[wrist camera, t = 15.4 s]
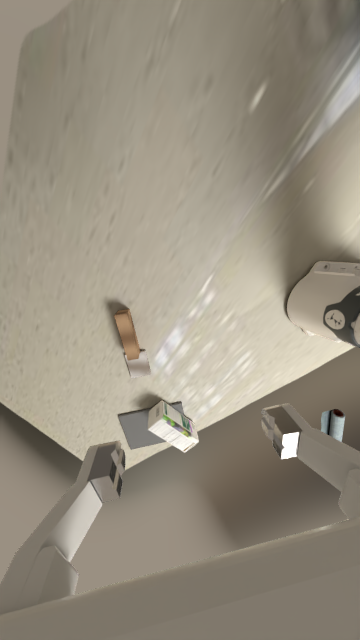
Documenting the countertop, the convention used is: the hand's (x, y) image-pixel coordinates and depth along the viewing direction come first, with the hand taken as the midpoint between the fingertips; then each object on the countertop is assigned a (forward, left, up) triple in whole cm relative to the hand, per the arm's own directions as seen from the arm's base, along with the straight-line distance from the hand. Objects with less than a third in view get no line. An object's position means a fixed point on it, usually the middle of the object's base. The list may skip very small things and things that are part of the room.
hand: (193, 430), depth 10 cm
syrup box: (+9, +28, -28) cm, 41 cm away
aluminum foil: (-50, +59, -32) cm, 84 cm away
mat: (+10, +37, -31) cm, 49 cm away
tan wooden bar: (+10, +10, -31) cm, 34 cm away
